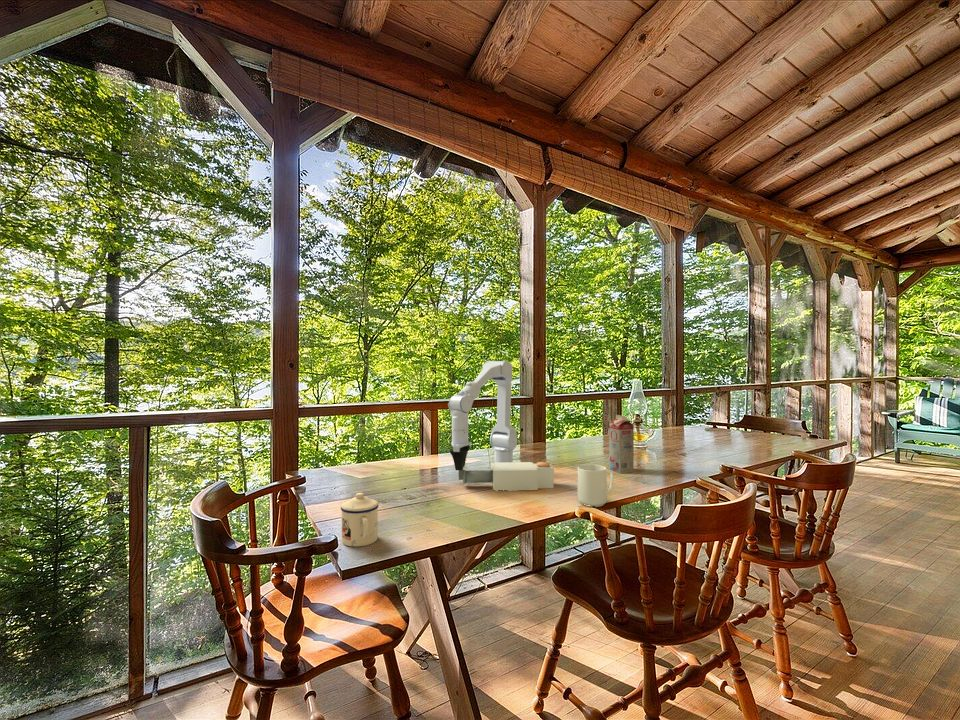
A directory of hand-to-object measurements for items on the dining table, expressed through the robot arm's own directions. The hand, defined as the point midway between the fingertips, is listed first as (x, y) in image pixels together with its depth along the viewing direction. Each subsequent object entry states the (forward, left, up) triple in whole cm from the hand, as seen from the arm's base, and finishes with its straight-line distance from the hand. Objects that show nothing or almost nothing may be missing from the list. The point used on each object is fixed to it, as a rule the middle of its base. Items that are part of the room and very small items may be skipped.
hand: (460, 468), depth 166 cm
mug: (+20, +42, -7) cm, 47 cm away
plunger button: (0, +29, -2) cm, 29 cm away
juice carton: (-20, +64, -7) cm, 68 cm away
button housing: (0, +22, -6) cm, 23 cm away
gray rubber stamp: (0, +6, -5) cm, 8 cm away
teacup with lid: (+48, -25, -7) cm, 54 cm away
